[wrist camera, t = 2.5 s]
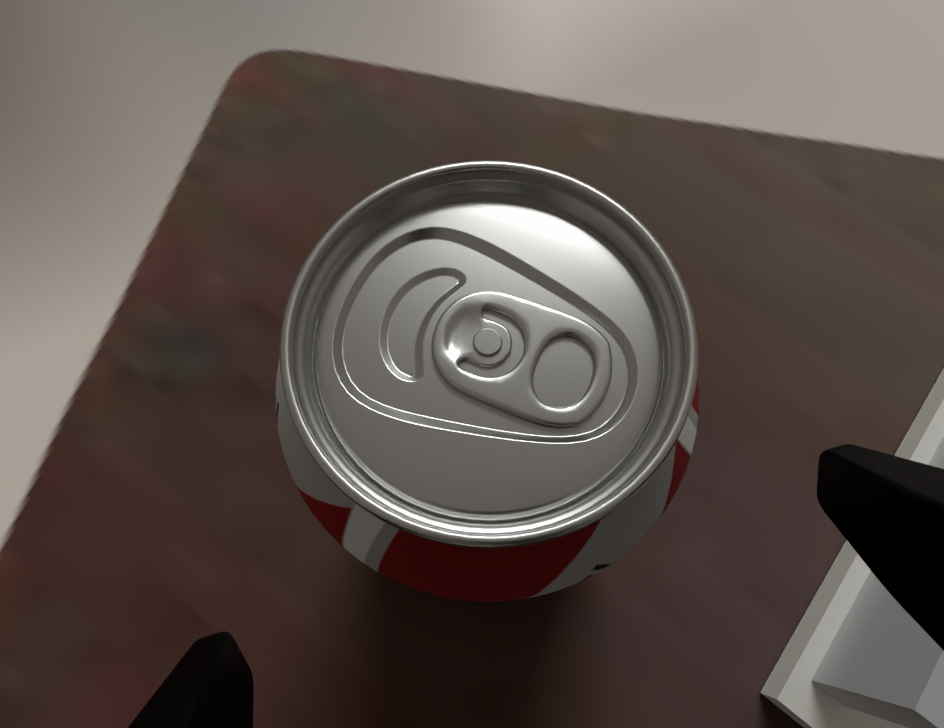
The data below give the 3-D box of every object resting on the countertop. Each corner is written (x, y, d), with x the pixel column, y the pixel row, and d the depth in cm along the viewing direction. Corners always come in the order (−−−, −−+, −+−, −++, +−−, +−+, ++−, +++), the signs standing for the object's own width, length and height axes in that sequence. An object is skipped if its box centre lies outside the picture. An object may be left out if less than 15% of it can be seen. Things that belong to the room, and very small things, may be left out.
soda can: (428, 353, 20) (368, 74, 9) (613, 424, 20) (797, 208, 8) (341, 539, 18) (125, 469, 7) (544, 629, 17) (668, 714, 6)
